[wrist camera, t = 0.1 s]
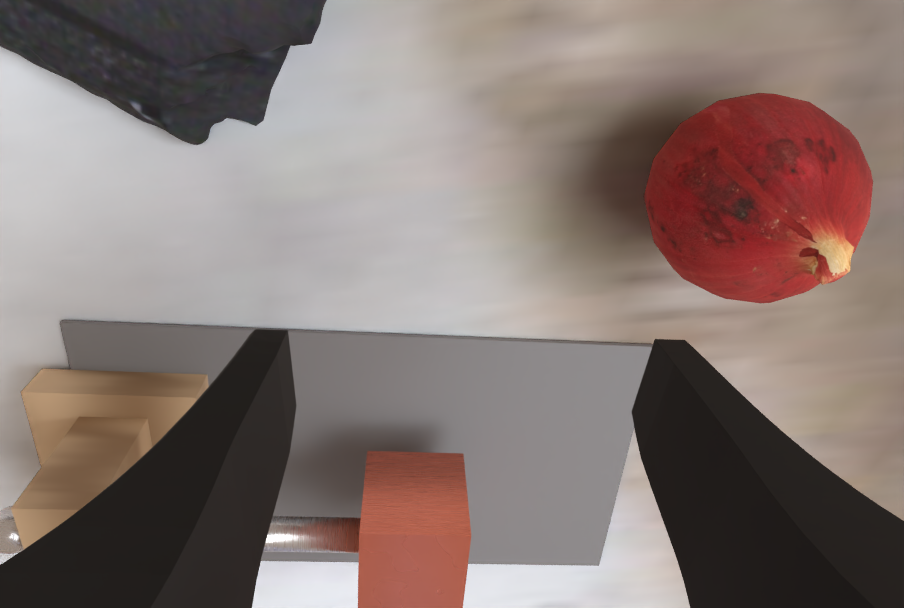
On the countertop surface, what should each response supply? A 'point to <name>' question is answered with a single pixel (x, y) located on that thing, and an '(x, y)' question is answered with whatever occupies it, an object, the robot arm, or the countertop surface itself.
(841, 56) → the countertop surface
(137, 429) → the wooden arch frame
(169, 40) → the black folded cloth
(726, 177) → the onion
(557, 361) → the gray panel
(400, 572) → the copper cube mallet
